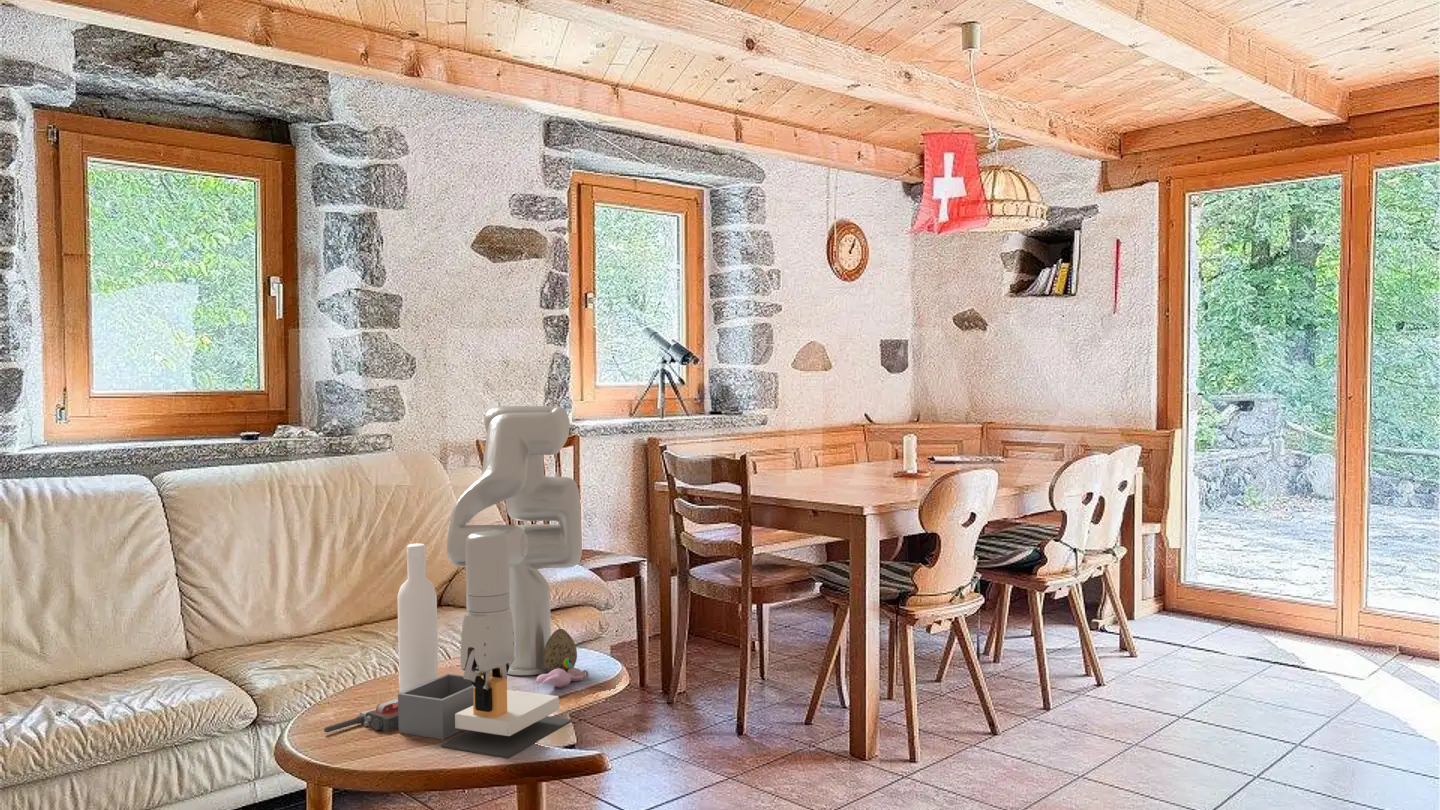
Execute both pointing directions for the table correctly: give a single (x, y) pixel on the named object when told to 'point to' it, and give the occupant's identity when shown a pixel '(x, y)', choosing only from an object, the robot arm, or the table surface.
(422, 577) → the bottle
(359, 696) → the table surface
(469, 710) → the lid
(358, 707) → the table surface
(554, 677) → the rabbit figure
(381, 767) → the table surface
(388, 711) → the walkie-talkie
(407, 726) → the tub
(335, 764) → the table surface
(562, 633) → the decorative egg
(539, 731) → the mat
